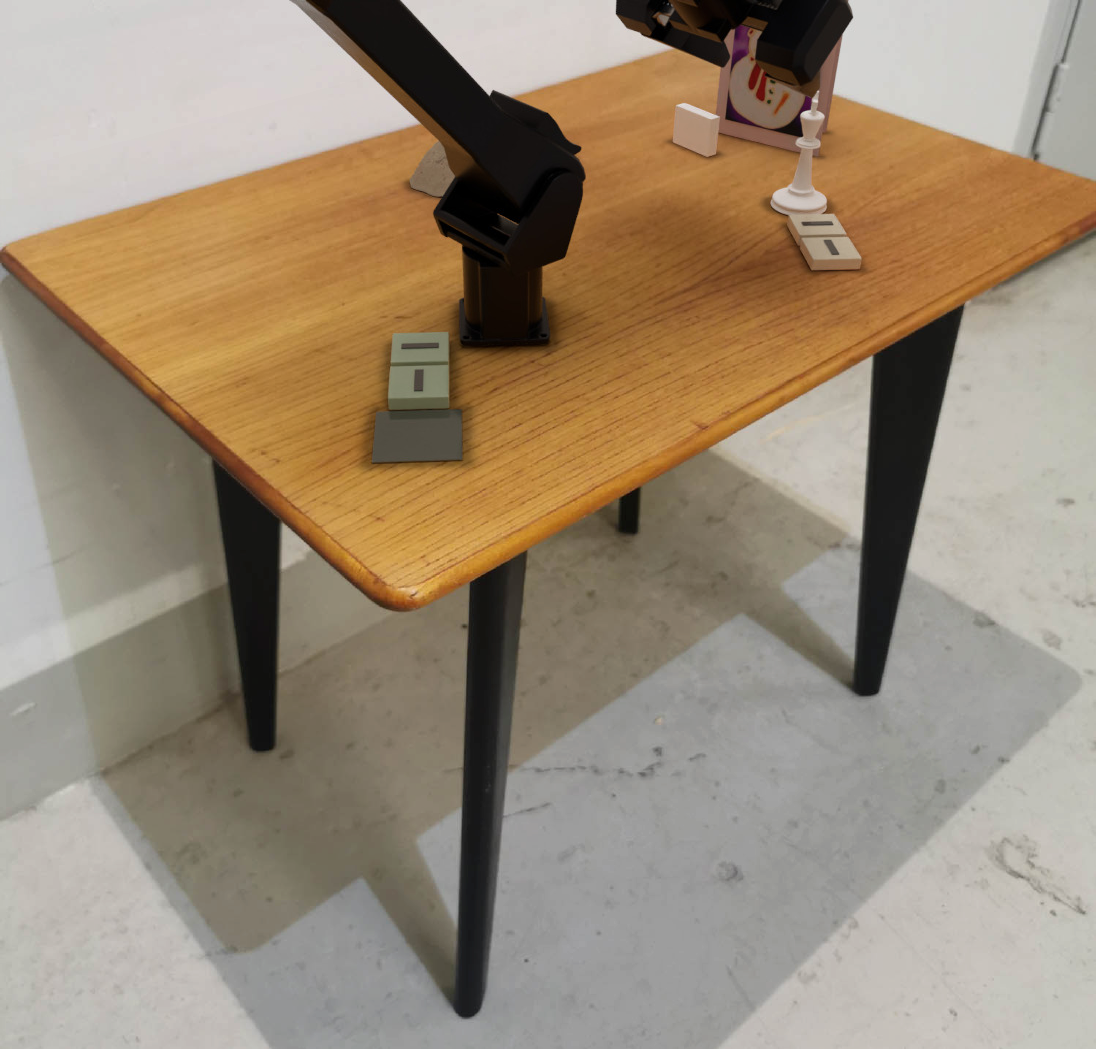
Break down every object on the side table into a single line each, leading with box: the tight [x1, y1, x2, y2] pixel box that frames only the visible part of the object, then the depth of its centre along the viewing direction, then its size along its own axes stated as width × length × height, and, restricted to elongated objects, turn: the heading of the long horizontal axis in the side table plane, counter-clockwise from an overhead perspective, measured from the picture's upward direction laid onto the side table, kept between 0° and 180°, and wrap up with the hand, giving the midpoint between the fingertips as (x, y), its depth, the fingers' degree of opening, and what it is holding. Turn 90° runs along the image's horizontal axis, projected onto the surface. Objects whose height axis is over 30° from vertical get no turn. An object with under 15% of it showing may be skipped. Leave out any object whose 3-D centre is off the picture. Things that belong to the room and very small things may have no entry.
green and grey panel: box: [371, 331, 464, 464], centre depth 75 cm, size 14×6×1 cm, turn 4°
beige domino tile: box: [786, 213, 863, 271], centre depth 93 cm, size 8×4×1 cm, turn 4°
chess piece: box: [770, 91, 828, 216], centre depth 97 cm, size 5×5×10 cm
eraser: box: [672, 102, 720, 158], centre depth 109 cm, size 1×5×4 cm, turn 38°
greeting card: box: [715, 0, 849, 158], centre depth 108 cm, size 11×7×15 cm, turn 55°
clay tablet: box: [409, 140, 455, 198], centre depth 105 cm, size 14×10×3 cm
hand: (769, 76), depth 89 cm, fingers open, 9 cm apart
